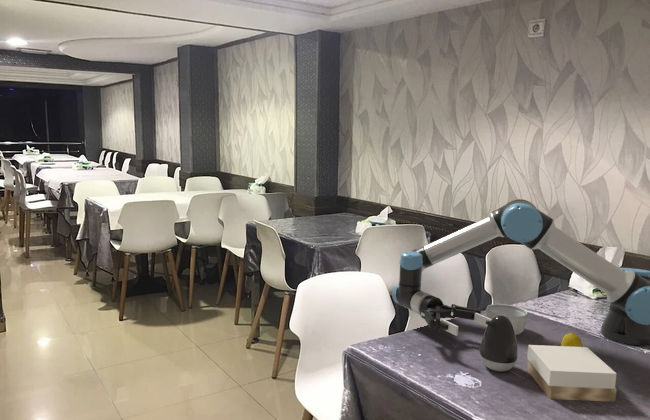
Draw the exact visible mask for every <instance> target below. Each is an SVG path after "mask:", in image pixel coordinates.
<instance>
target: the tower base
mask: <svg viewBox="0 0 650 420" xmlns="http://www.w3.org/2000/svg"><path fill="white" fill-rule="evenodd" d="M526 368H527V370H526V371H527V372H528V373H529V374H530V376H531V377H532V378H533V379H534V381H535V382H536V383H537V385H539V387H540V388H541V389H542V391H543V392H544V393H545V395H547V397H548V398H549V399H550V400H565V401H567V400H568V401H589V402H590V401H593V402H594V401H595V402H612V403H613V402H614V403H615V402H616V400H617V399H616V396H617V387H616V386H615V389H607V388H584V387H562V386H549V385H548V384H547V383H546V381H545V380H544V379H543V378H542V376H541V375H540V374H539V373H538V371H537V370H536V369H535V368H534V366H533V365H532V364H531V363H530V361H529V360H528V359H527V367H526Z"/></svg>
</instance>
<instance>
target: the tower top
mask: <svg viewBox="0 0 650 420" xmlns="http://www.w3.org/2000/svg"><path fill="white" fill-rule="evenodd" d="M526 355H527V356H526V358H527V361H528V360H529V361H530V363H531V364H532V365H533V366H534V368H535V369H536V370H537V371H538V373H539V374H540V375H541V376H542V378H543V379H544V380H545V381H546V383H547V384H548V385H549V386H562V387H584V388H607V389H615V387H616V382H617V381H616V380H617V372H615V371H614V369H612V368H611V367H610V366H609V365H607V364H606V362H604V361H603V360H602V359H601V358H600V357H599V356H597V355H596V354H595V353H594V352H593V351H592V350H591V349H590V348H589V347H587V346H582V347H569V346H561V345H539V344H528V347H527V354H526Z"/></svg>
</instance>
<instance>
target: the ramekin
mask: <svg viewBox="0 0 650 420" xmlns="http://www.w3.org/2000/svg"><path fill="white" fill-rule="evenodd" d="M485 312H486V317H488V318H490V319H493V318H494V317H495V316H498V315H503V316H505V317H507V318H508V319H509V320H510V321H511V323H512V325H513V328H514V331H515V334H516V336H517V335H520V334H522V333H523V332H524V330H525V326H526V322H527V319H528V315H529V313H528V311H527V310H526V309H524V308H522V307H520V306H516V305H512V304H506V303H504V304H503V303H492V304H489V305H487V306H486V309H485Z"/></svg>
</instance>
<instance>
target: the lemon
mask: <svg viewBox="0 0 650 420" xmlns="http://www.w3.org/2000/svg"><path fill="white" fill-rule="evenodd" d="M560 346H569V347H583V342H582V339H581V338H580V336H579V335H577V334H576V333H574V332H571V333H570V332H569V333H566V334H565V335H564V336H563V337H562V340H561V343H560Z"/></svg>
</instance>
